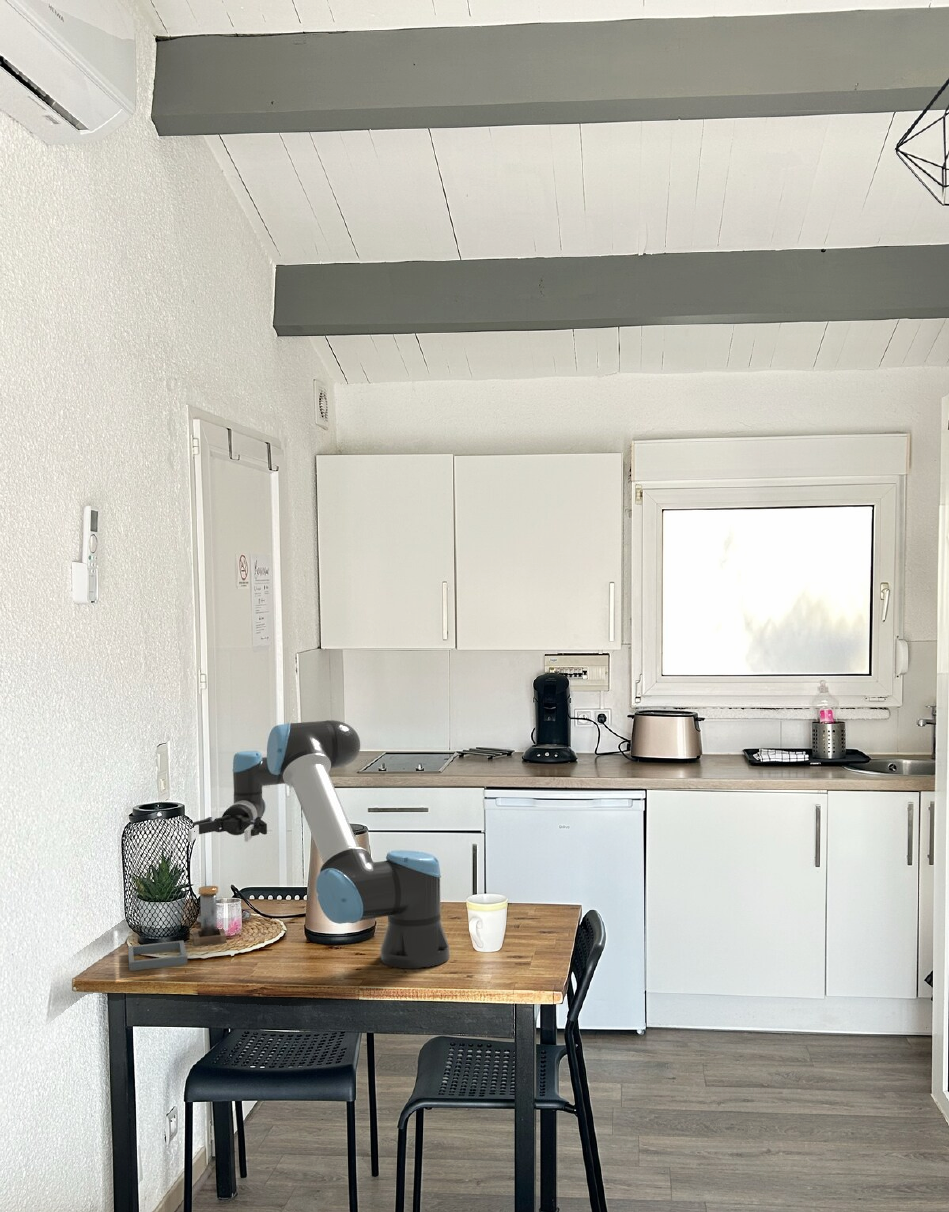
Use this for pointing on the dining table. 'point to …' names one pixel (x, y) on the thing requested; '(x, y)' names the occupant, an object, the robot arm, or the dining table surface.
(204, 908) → the pin
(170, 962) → the tray
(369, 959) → the dining table surface
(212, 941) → the socket block
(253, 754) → the robot arm
